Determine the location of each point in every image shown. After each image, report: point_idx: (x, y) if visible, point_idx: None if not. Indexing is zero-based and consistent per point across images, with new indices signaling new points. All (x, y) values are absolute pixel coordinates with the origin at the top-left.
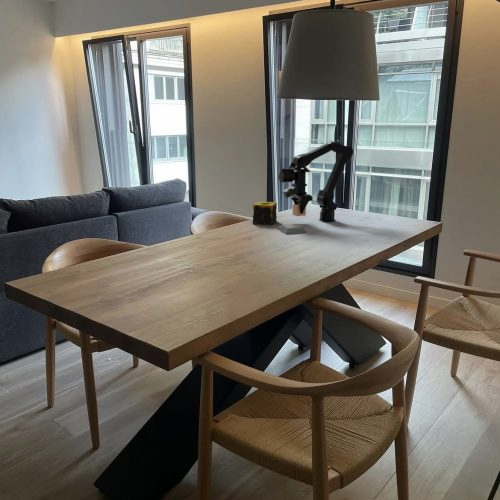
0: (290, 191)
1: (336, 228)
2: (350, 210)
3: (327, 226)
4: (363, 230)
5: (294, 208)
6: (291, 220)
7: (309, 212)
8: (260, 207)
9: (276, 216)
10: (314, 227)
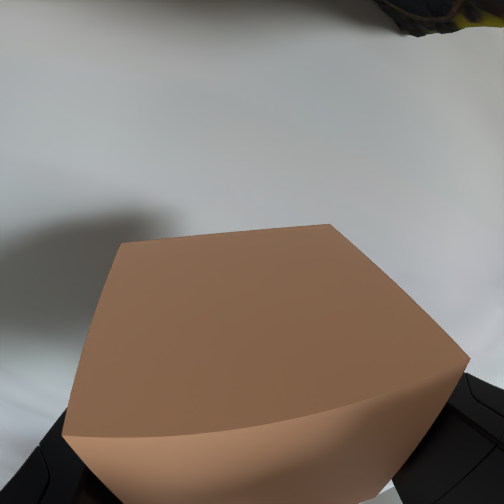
0: None
1: (7, 430)
2: (393, 485)
3: (53, 419)
4: (3, 475)
5: (275, 323)
6: (392, 215)
7: (481, 376)
8: None
9: (445, 25)
10: (3, 335)
